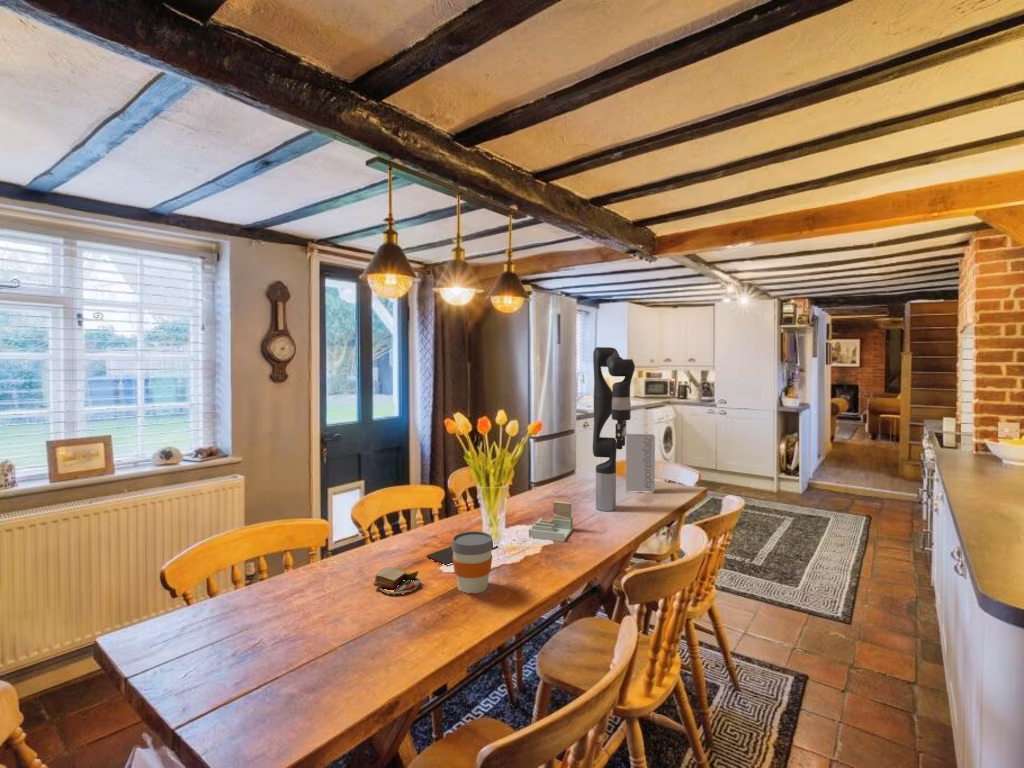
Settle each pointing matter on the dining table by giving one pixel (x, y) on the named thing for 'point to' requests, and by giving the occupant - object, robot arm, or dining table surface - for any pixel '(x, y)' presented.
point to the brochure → (640, 462)
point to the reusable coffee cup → (472, 560)
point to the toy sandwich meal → (396, 580)
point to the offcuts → (545, 521)
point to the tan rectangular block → (561, 510)
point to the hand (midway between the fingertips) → (620, 447)
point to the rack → (552, 529)
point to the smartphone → (442, 556)
